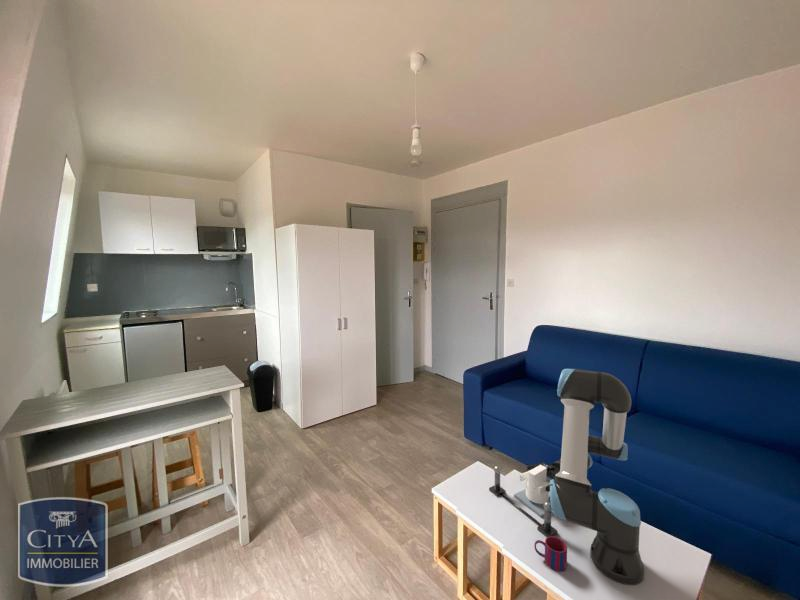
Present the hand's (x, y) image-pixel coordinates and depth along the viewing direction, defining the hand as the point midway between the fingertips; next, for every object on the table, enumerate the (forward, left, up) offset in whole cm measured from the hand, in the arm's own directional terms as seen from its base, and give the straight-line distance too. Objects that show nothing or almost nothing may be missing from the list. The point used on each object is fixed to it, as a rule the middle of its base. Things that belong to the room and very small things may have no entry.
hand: (529, 484), depth 137 cm
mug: (-24, +11, -10) cm, 29 cm away
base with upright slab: (+1, -5, -7) cm, 9 cm away
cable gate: (-1, +5, -9) cm, 11 cm away
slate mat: (+1, -4, -9) cm, 10 cm away
